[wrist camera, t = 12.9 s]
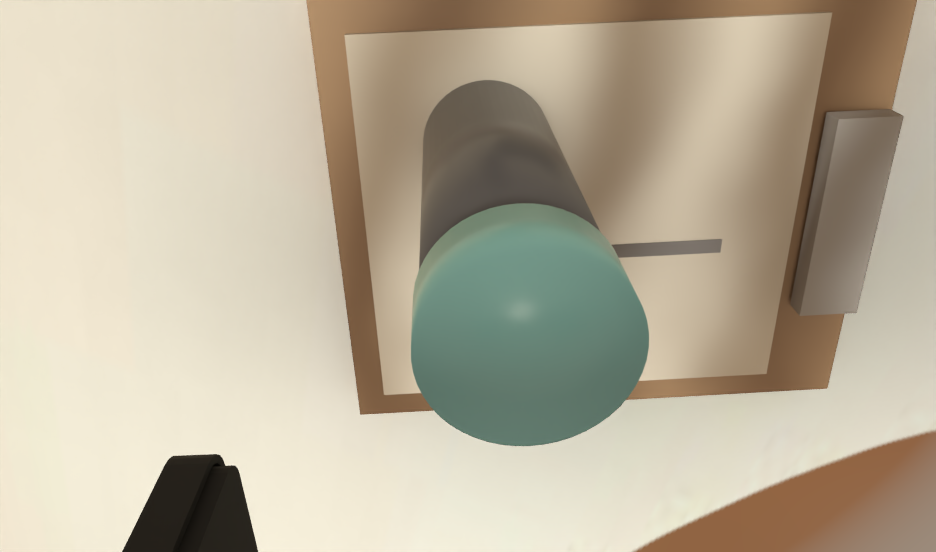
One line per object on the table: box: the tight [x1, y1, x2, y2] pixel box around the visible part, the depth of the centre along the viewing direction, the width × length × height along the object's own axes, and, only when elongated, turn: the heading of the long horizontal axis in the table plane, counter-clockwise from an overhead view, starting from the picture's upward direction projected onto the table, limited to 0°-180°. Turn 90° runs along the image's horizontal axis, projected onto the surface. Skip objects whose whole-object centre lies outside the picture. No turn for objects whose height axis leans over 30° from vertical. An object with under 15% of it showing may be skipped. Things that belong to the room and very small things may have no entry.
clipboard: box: [307, 0, 917, 415], centre depth 25 cm, size 18×15×2 cm
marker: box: [411, 80, 649, 446], centre depth 18 cm, size 4×4×12 cm
